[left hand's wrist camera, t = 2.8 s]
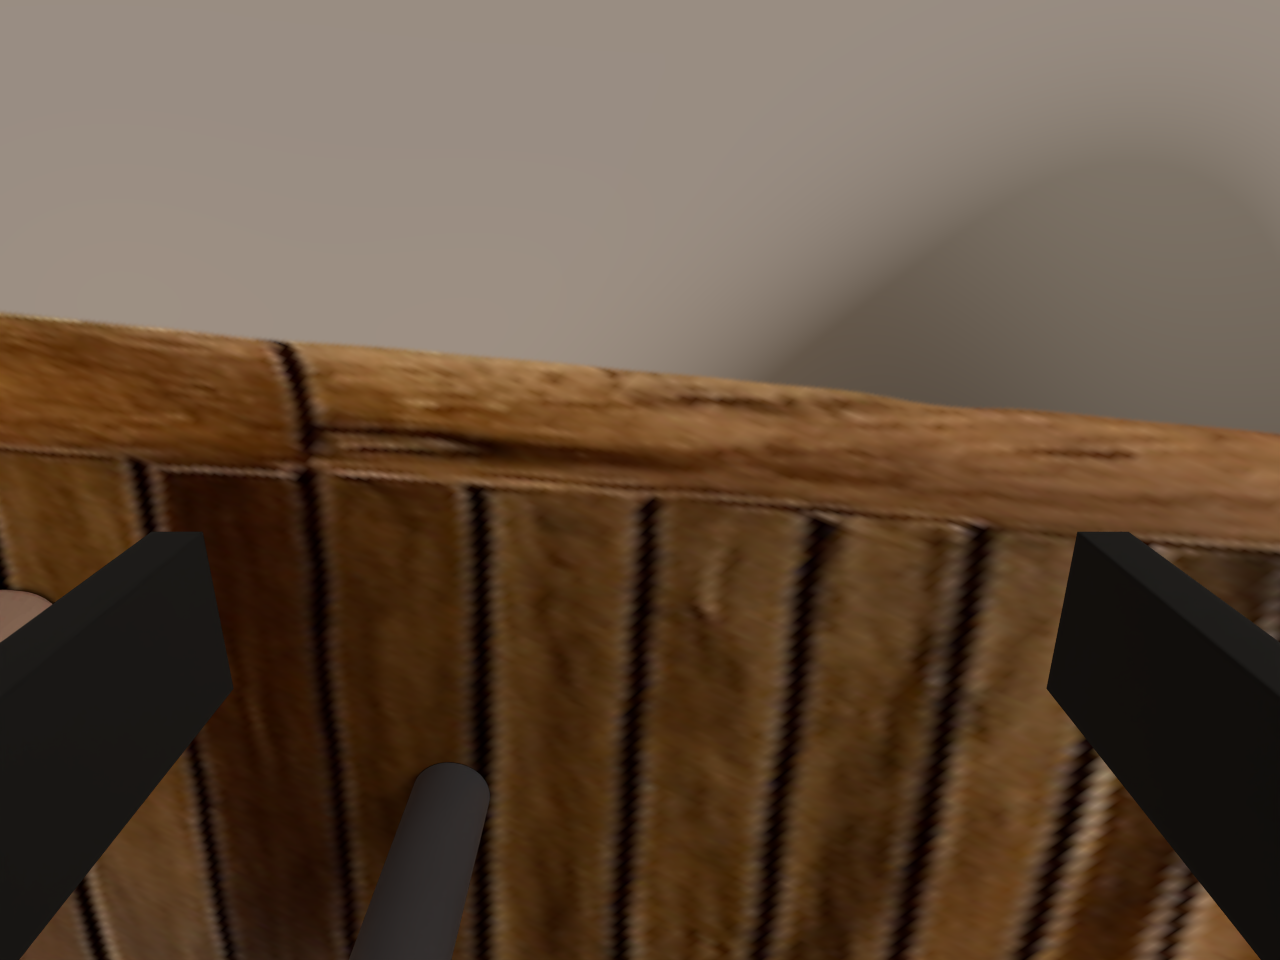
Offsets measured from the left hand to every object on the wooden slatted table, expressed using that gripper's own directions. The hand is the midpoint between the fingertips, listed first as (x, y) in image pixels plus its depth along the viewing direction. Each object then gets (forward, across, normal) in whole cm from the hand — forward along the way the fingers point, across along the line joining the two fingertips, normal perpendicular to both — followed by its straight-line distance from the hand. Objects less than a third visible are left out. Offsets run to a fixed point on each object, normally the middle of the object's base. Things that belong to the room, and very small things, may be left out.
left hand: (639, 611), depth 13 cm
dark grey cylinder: (+28, +11, +28) cm, 41 cm away
